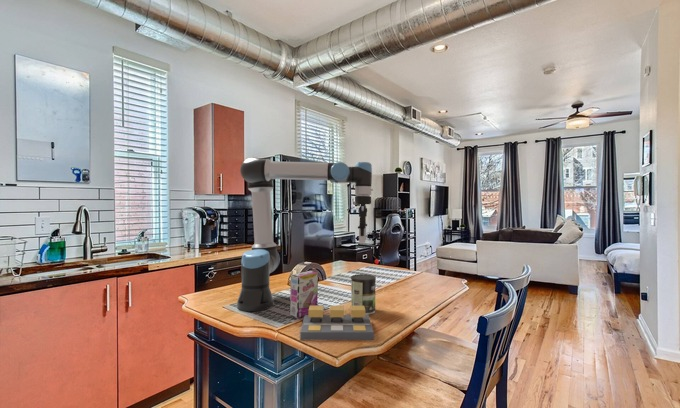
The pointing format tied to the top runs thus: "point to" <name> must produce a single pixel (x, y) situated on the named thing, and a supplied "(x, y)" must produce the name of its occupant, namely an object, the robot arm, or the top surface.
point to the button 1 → (315, 312)
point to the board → (336, 329)
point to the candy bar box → (303, 293)
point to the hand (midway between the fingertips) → (362, 241)
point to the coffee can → (363, 292)
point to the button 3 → (357, 313)
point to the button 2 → (336, 313)
